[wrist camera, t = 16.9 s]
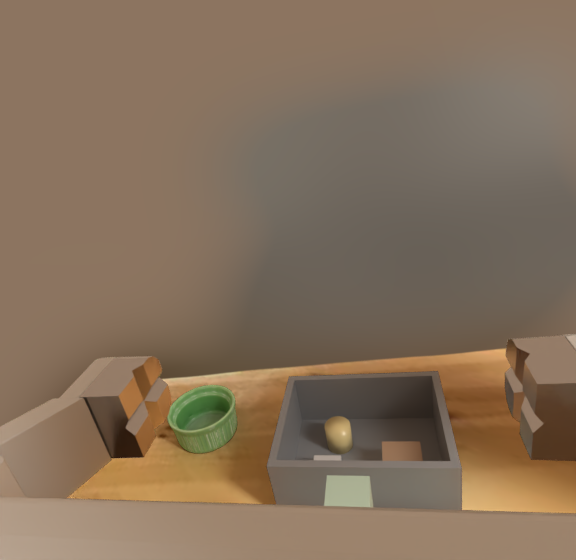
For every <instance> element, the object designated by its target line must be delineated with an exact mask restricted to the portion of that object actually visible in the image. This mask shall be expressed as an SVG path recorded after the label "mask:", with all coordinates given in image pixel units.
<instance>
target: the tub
mask: <svg viewBox="0 0 576 560" xmlns="http://www.w3.org/2000/svg"><path fill="white" fill-rule="evenodd" d="M267 470H268V474H269V478H270V482H271V486H272V490H273V493H274V497H275V501H276V505H310V506H324V501H325V490H326V480H327V475H337V476H370V484H371V492H372V500H373V507H376V508H409V509H441V510H462V468H461V464H460V459H459V455H458V451H457V447H456V443H455V439H454V435H453V431H452V427H451V422H450V418H449V414H448V410H447V406H446V402H445V398H444V394H443V390H442V386H441V381H440V377H439V373H438V371H429V372H402V373H374V374H347V375H319V376H292V377H289V379H288V383H287V387H286V391H285V395H284V399H283V403H282V407H281V411H280V415H279V419H278V423H277V427H276V431H275V435H274V439H273V443H272V447H271V451H270V455H269V459H268V463H267Z"/></svg>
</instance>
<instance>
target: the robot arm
mask: <svg viewBox="0 0 576 560" xmlns="http://www.w3.org/2000/svg"><path fill="white" fill-rule="evenodd" d="M506 357H507V359H508V361H509V364H510V366H511V367H510V368H509V369H508V370H507V372H506V373H505V392H506V399H507V403H508V406H509V410H510V412H511V414H512V417H513V418H514V419H516V420H517V421H519V422H520V436H521V438H522V440H523V442H524V445H525V447H526V449H527V452H528V454H529V456H530V458H531V460H558V461H576V334H570V335H561V336H548V337H535V338H534V337H533V338H518V339H508V342H507V345H506ZM161 373H162V368H161V365H160V363H159V360H158V359H157V358H155V357H154V356H139V357H118V358H117V357H108V358H100V359H96V360H95V361H94V362H93V363H92V364H91V365H90V366H89V367H88V368H87V369H86V370H85V371H84V373H82V375H81V376H80V377H79V378H78V379H77V380H76V381H75V382H74V383H73V384H72V385H71V386H70V387H69V388H68V389H67V390H66V391H65V392H64V393H63V394H62V396H61V397H60V398H54V399H52V400H50V401H48V402H46V403H44V404H42V405H40V406H38V407H36V408H35V409H33V410H31V411H29V412H27V413H25V414H23V415H21V416H19V417H18V418H16V419H14V420H12V421H10V422H8V423H6V424H4V425H3V426H0V560H576V513H540V512H505V511H473V510H441V509H409V508H376V507H344V506H310V505H274V504H239V503H203V502H168V501H135V500H101V499H68V498H67V497H68V496H70V495H71V494H72V493H73V492H74V491H76V490H77V489H78V488H79V487H80V486H81V485H83V484H84V483H85V482H86V481H87V480H88V479H90V478H91V477H92V476H93V475H94V474H96V473H97V472H98V471H99V470H100V469H101V468H103V467H104V466H105V465H106V464H107V463H109V462H110V461H111V458H140V457H144V456H145V455H146V453H147V451H148V449H149V448H150V446H151V444H152V443H153V441H154V439H155V437H156V433H155V428H157V427H158V426H160V425H161V424H162V423H164V422H165V420H166V418H167V416H168V414H169V411H170V405H171V395H170V390H169V387H168V385H167V384H166V383H165V382H164V381H163V380H162V379H161V378H159V377H160V375H161Z"/></svg>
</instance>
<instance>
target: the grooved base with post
mask: <svg viewBox="0 0 576 560" xmlns="http://www.w3.org/2000/svg"><path fill="white" fill-rule="evenodd" d="M324 506H344V507H373V500H372V492H371V484H370V476H337V475H327V480H326V490H325V501H324Z"/></svg>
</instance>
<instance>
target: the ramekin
mask: <svg viewBox="0 0 576 560" xmlns="http://www.w3.org/2000/svg"><path fill="white" fill-rule="evenodd" d="M167 420H168V423H169V425H170V427H171V428H172V429H173V431H174V433H175V435H176V437H177V439H178V442H179V444H180V445H181V446H182V448H184V449H185V450H187V451H189V452H192V453H207V452H211V451H214V450H216V449H218V448H220V447H222V446H223V445H225V444H226V443H227V442H228V441H229V440H230V439H231V438H232V437H233V435H234V434H235V431H236V429H237V416H236V410H235V397H234V394H233V393H232V391H231V390H229V389H228V388H226V387H224V386H220V385H206V386H201V387H197V388H195V389H192V390H190V391H188V392H186V393H185V394H183V395H181V396H180V397H179V398H178V399H177V400H176V401H175V402H174V403H173V404H172V405H171V407H170V411H169V414H168V416H167Z"/></svg>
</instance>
